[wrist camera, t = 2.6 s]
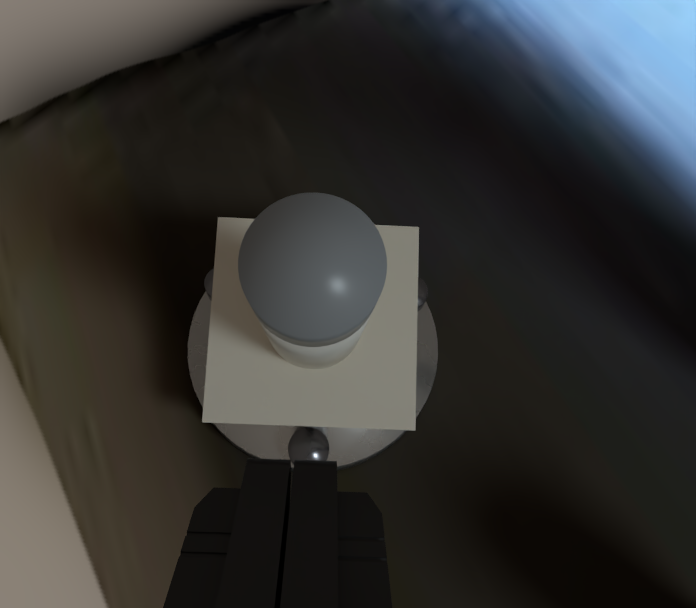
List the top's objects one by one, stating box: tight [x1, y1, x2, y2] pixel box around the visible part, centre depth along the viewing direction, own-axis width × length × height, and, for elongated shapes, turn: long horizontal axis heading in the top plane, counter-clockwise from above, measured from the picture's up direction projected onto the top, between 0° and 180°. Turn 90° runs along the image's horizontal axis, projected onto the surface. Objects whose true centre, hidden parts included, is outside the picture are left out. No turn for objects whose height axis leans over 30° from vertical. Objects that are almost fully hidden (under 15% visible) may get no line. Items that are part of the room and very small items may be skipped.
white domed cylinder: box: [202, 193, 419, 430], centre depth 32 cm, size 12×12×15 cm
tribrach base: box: [188, 268, 438, 471], centre depth 41 cm, size 16×16×4 cm
